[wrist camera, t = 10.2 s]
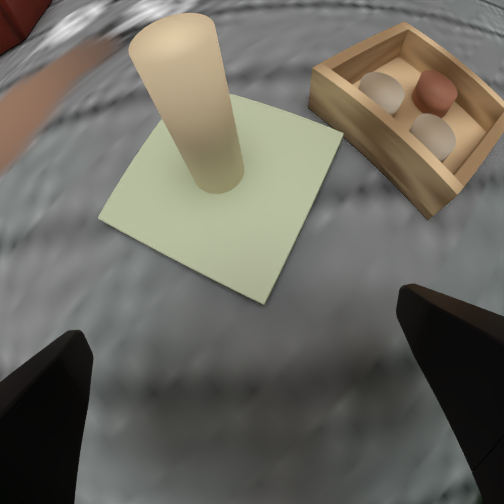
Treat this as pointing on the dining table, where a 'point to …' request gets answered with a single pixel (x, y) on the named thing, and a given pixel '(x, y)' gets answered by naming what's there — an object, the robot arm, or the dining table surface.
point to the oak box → (410, 112)
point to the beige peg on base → (216, 165)
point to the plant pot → (18, 20)
